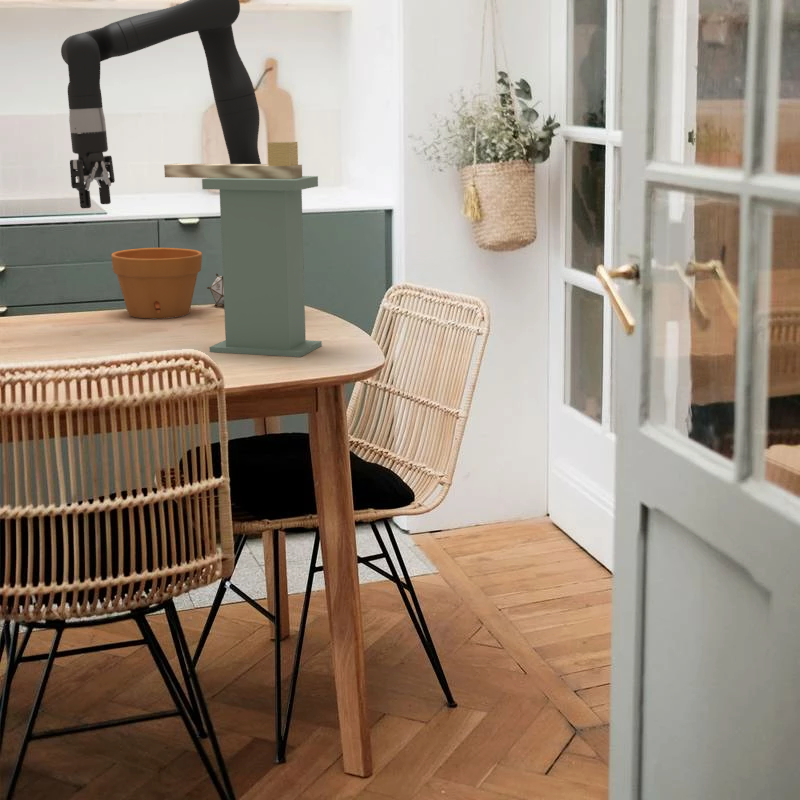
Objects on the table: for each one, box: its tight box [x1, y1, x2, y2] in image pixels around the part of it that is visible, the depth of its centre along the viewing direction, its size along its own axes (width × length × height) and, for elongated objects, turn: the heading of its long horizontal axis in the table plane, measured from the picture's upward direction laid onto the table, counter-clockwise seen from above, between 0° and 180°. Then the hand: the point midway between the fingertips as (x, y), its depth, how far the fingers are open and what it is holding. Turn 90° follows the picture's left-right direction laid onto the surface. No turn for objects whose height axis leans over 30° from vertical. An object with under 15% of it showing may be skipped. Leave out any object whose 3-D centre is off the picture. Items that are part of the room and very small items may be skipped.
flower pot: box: [110, 247, 203, 319], centre depth 310 cm, size 21×21×15 cm
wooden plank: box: [163, 162, 303, 179], centre depth 262 cm, size 28×5×2 cm, turn 73°
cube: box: [267, 141, 299, 166], centre depth 258 cm, size 4×4×4 cm
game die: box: [206, 272, 224, 307], centre depth 321 cm, size 9×8×10 cm
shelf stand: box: [201, 175, 323, 358], centre depth 264 cm, size 20×12×35 cm, turn 73°
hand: (95, 206), depth 283 cm, fingers open, 8 cm apart
